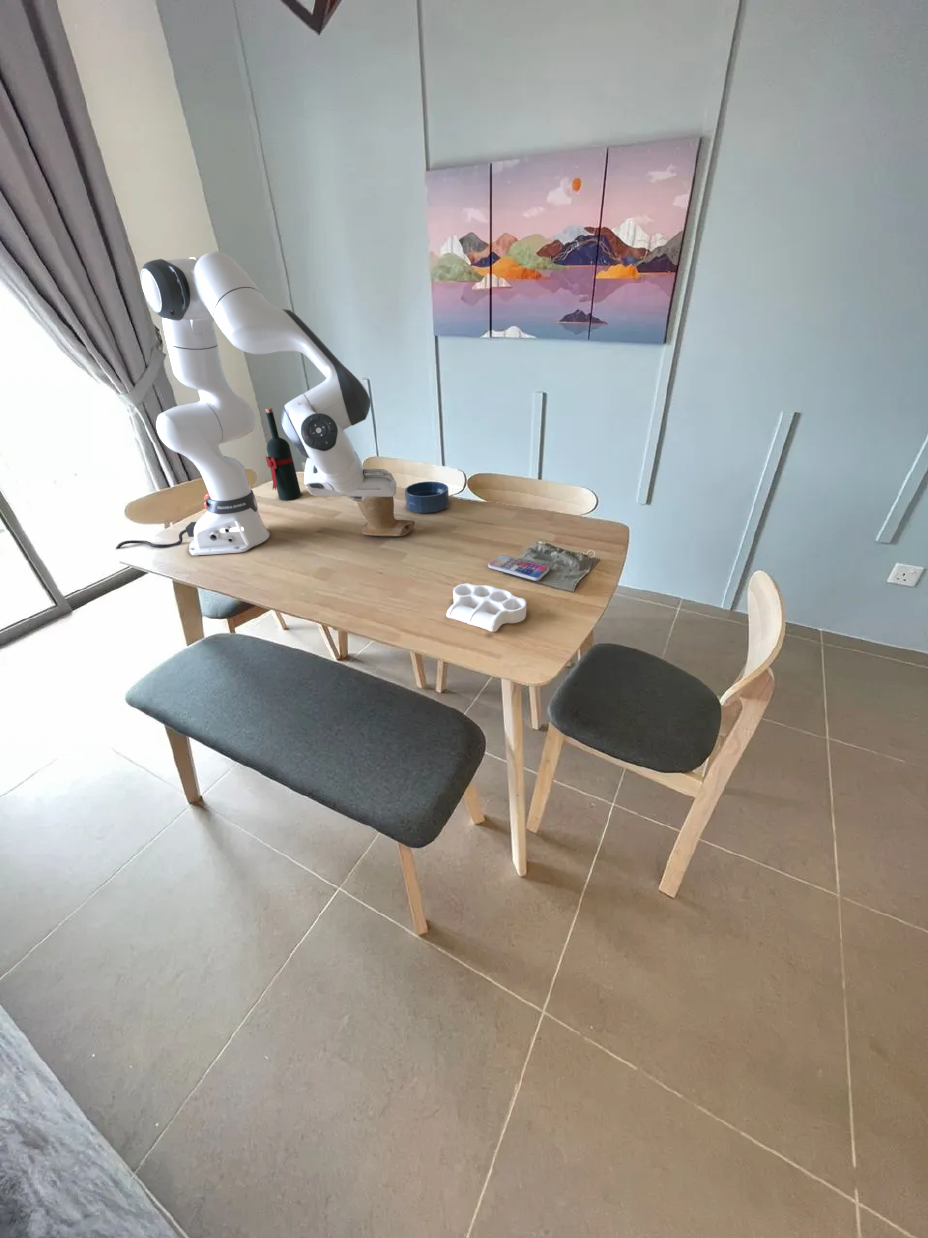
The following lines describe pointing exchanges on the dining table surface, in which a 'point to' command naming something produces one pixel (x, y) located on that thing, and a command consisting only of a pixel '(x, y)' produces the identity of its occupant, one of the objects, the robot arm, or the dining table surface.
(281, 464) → the wine bottle
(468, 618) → the knuckle duster
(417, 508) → the bowl
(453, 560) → the dining table surface
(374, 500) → the stone cup
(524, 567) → the smartphone
